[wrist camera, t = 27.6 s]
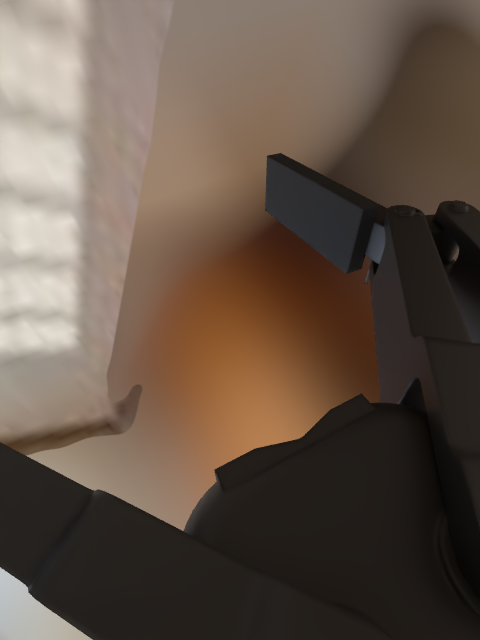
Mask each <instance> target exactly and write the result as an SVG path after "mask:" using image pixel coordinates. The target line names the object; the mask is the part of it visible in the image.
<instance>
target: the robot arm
mask: <svg viewBox="0 0 480 640" xmlns="http://www.w3.org/2000/svg"><path fill="white" fill-rule="evenodd" d="M265 211H267V212H268V213H269V214H271V215H272V216H273V217H274V218H276V219H277V220H278V221H280V222H281V223H282V224H283V225H285V226H286V227H287V228H289V229H290V230H291V231H292V232H294V233H295V234H296V235H297V236H299V237H300V238H301V239H303V240H304V241H305V242H306V243H308V244H309V245H310V246H312V247H313V248H314V249H315V250H317V251H318V252H319V253H321V254H322V255H323V256H324V257H326V258H327V259H328V260H330V261H331V262H332V263H333V264H335V265H336V266H337V267H338V268H340V269H341V270H342V271H344V272H345V273H346V274H348V273H351V272H354V271H356V270H359V269H361V268H362V265H363V261H364V258H365V256H367V257H368V258H370V259H371V260H372V261H371V265H370V268H369V271H368V274H367V277H366V280H365V284H367V283H368V281H369V280H370V283H371V295H372V307H373V319H374V330H375V341H376V354H377V366H378V377H379V388H380V403H370V402H369V401H368V400H367V399H366V398H365V397H364V396H363V395H362V394H360V395H358V396H356V397H354V398H352V399H350V400H348V401H346V402H344V403H343V404H341V405H339V406H337V407H335V408H333V409H331V410H330V411H329V412H328V413H326V415H324V416H323V417H322V418H321V419H320V420H319V421H318V422H317V423H316V424H315V425H314V426H313V427H312V428H311V429H310V430H309V431H308V432H307V433H306V434H305V435H304V436H303V437H302V438H300V439H297V440H293V441H288V442H283V443H279V444H274V445H270V446H265V447H261V448H256V449H254V450H252V451H250V452H248V453H246V454H244V455H242V456H240V457H238V458H236V459H234V460H232V461H231V462H228V463H226V464H225V465H223V466H221V467H219V468H217V469H215V475H216V480H217V482H216V483H215V484H214V485H213V486H212V487H211V488H210V489H209V490H208V491H207V492H206V493H205V494H204V496H203V497H202V498H201V499H200V501H199V502H198V504H197V505H196V507H195V509H194V510H193V512H192V514H191V516H190V518H189V520H188V522H187V524H186V526H185V529H184V531H182V530H180V529H178V528H176V527H174V526H172V525H170V524H168V523H166V522H164V521H162V520H160V519H158V518H156V517H155V516H153V515H151V514H149V513H146V512H145V511H143V510H141V509H139V508H137V507H135V506H133V505H131V504H129V503H127V502H125V501H123V500H122V499H120V498H118V497H116V496H114V495H111V494H109V493H107V492H105V491H102V490H96V491H94V490H91V489H89V488H86V487H84V486H83V485H81V484H79V483H77V482H75V481H73V480H71V479H69V478H67V477H65V476H63V475H61V474H60V473H58V472H56V471H54V470H52V469H50V468H48V467H46V466H44V465H42V464H40V463H38V462H37V461H35V460H33V459H31V458H29V457H27V456H25V455H23V454H21V453H19V452H18V451H16V450H14V449H12V448H10V447H8V446H6V445H4V444H2V443H0V567H1V568H2V569H4V570H5V571H7V572H8V573H10V574H11V575H12V576H14V577H15V578H17V579H18V580H20V581H21V582H22V583H24V584H25V585H26V586H27V587H28V591H29V593H30V594H31V595H32V596H33V597H34V598H35V599H36V600H38V601H39V602H40V603H41V604H43V605H44V606H46V607H47V608H48V609H50V610H51V611H52V612H54V613H56V614H57V615H58V616H60V617H61V618H63V619H64V620H65V621H67V622H68V623H70V624H71V625H73V626H74V627H76V628H77V629H78V630H80V631H81V632H83V633H84V634H86V635H87V636H88V637H90V638H91V639H93V640H480V211H478V210H477V209H476V208H475V207H473V206H471V205H469V204H466V203H465V202H463V201H457V200H456V201H445V202H442V203H440V205H439V207H438V209H437V212H436V214H435V215H424V213H423V212H422V211H421V210H419V209H417V208H414V207H411V206H406V205H396V206H391V207H389V208H388V209H387V208H385V207H383V206H382V205H380V204H377V203H376V202H374V201H372V200H370V199H368V198H366V197H364V196H362V195H360V194H358V193H357V192H355V191H353V190H351V189H348V188H347V187H345V186H343V185H341V184H339V183H337V182H335V181H333V180H331V179H329V178H327V177H325V176H324V175H322V174H320V173H318V172H316V171H314V170H312V169H310V168H308V167H306V166H304V165H302V164H301V163H299V162H297V161H295V160H293V159H291V158H289V157H287V156H285V155H283V154H281V153H279V154H274V155H269V156H267V176H266V203H265ZM458 249H459V255H458V258H457V260H456V261H455V260H454V257H455V255H456V253H457V251H458Z"/></svg>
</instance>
